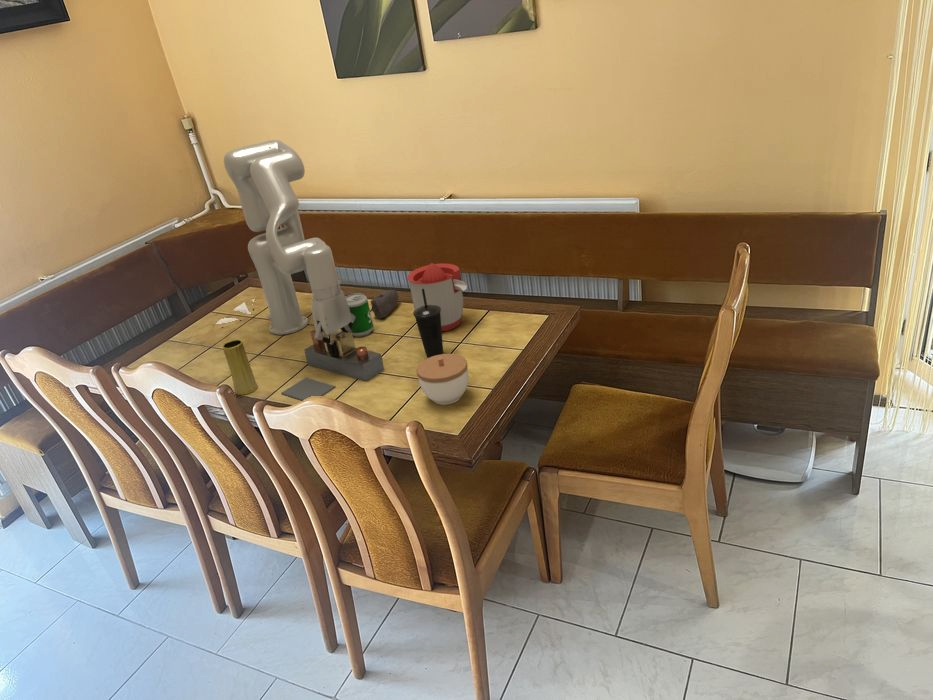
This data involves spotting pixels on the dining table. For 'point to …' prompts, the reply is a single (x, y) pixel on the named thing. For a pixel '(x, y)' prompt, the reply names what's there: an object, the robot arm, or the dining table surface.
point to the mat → (308, 389)
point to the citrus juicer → (439, 291)
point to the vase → (239, 367)
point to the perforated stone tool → (384, 303)
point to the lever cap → (342, 343)
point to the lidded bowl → (443, 378)
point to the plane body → (345, 360)
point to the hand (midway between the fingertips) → (341, 350)
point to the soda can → (360, 314)
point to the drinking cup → (430, 327)
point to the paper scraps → (241, 308)
